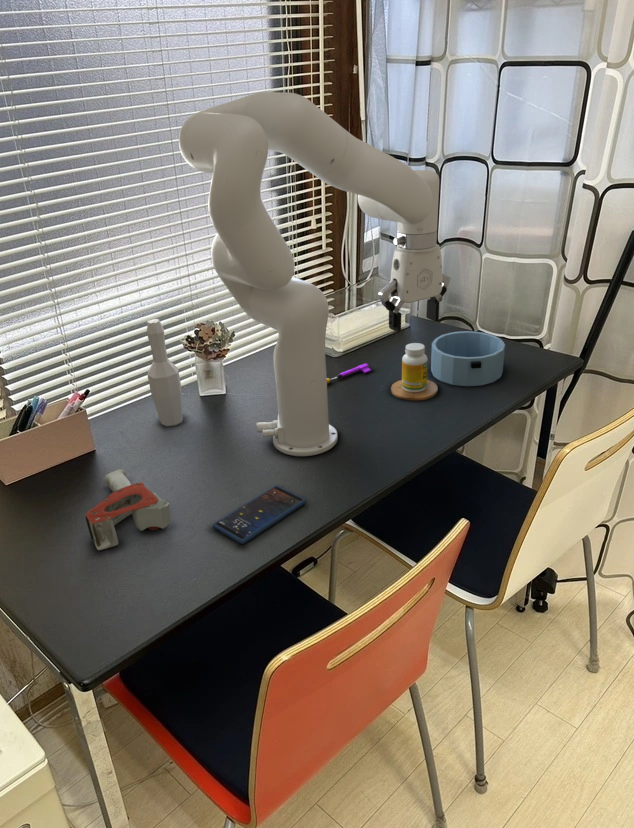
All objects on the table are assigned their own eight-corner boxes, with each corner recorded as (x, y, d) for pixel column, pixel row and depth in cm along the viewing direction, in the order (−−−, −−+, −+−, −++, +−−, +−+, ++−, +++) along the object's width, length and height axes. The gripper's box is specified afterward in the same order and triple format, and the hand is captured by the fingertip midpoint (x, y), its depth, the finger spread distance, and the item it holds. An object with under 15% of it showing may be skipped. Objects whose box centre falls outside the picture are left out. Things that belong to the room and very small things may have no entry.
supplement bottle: (402, 382, 156) (403, 341, 151) (427, 382, 155) (428, 341, 150) (400, 392, 152) (401, 351, 146) (426, 393, 150) (427, 351, 145)
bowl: (438, 390, 153) (439, 362, 149) (425, 358, 168) (426, 332, 164) (511, 385, 152) (514, 357, 149) (491, 353, 167) (493, 327, 164)
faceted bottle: (161, 430, 145) (141, 329, 134) (153, 418, 150) (133, 319, 139) (190, 423, 147) (173, 322, 136) (182, 411, 152) (165, 313, 141)
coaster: (394, 402, 149) (394, 399, 149) (388, 381, 158) (388, 379, 158) (441, 399, 149) (441, 396, 149) (433, 379, 158) (433, 376, 157)
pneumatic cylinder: (365, 365, 165) (311, 387, 158) (366, 361, 165) (311, 383, 157) (373, 371, 164) (318, 393, 156) (373, 367, 163) (318, 389, 156)
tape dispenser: (117, 486, 131) (54, 546, 115) (111, 460, 129) (45, 518, 112) (203, 492, 126) (150, 556, 109) (199, 466, 123) (143, 527, 107)
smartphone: (307, 499, 119) (241, 542, 110) (307, 503, 120) (242, 546, 111) (276, 483, 124) (210, 524, 115) (276, 487, 124) (211, 528, 115)
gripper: (392, 251, 130) (390, 339, 139) (464, 236, 137) (458, 320, 146) (368, 243, 136) (368, 329, 145) (438, 229, 143) (434, 311, 152)
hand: (413, 324), depth 145 cm, fingers open, 9 cm apart
